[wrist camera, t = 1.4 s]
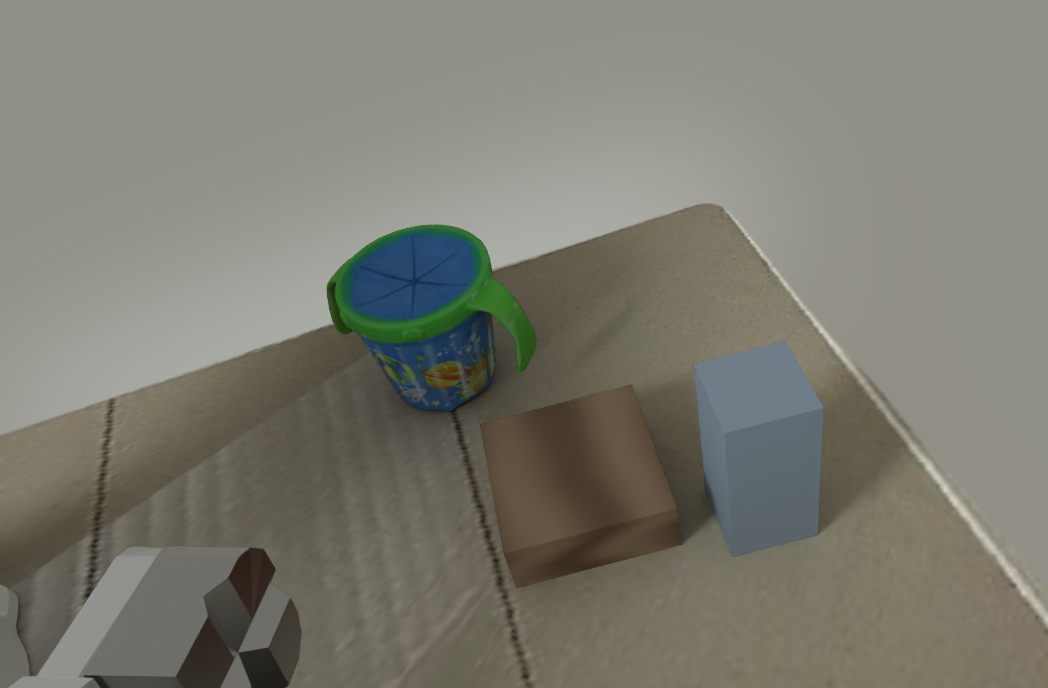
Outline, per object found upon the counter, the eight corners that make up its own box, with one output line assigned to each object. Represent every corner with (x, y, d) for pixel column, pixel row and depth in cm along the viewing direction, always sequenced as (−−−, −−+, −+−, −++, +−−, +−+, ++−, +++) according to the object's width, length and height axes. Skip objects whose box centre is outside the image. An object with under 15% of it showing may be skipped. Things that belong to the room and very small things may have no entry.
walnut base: (517, 591, 54) (503, 553, 51) (493, 463, 61) (479, 424, 59) (682, 548, 54) (677, 508, 51) (638, 425, 61) (631, 384, 59)
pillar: (732, 557, 52) (724, 433, 45) (705, 489, 56) (693, 364, 49) (817, 534, 52) (823, 407, 45) (784, 468, 56) (785, 340, 49)
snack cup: (574, 356, 67) (550, 246, 60) (497, 462, 61) (461, 354, 54) (407, 307, 74) (369, 205, 67) (325, 397, 68) (274, 296, 62)
